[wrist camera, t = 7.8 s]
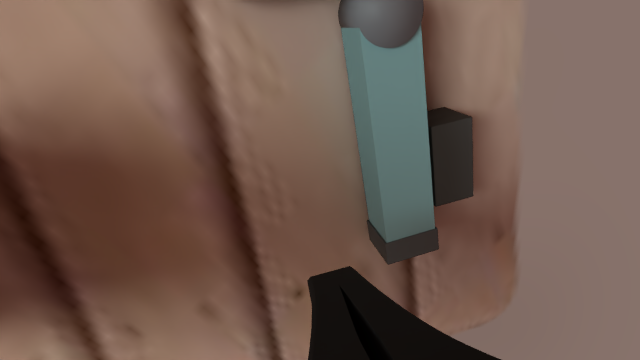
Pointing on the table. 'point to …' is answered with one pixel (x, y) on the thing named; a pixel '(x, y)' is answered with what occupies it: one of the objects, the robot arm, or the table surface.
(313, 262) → the table surface
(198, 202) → the table surface
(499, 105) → the table surface
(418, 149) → the stool leg
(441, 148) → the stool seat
